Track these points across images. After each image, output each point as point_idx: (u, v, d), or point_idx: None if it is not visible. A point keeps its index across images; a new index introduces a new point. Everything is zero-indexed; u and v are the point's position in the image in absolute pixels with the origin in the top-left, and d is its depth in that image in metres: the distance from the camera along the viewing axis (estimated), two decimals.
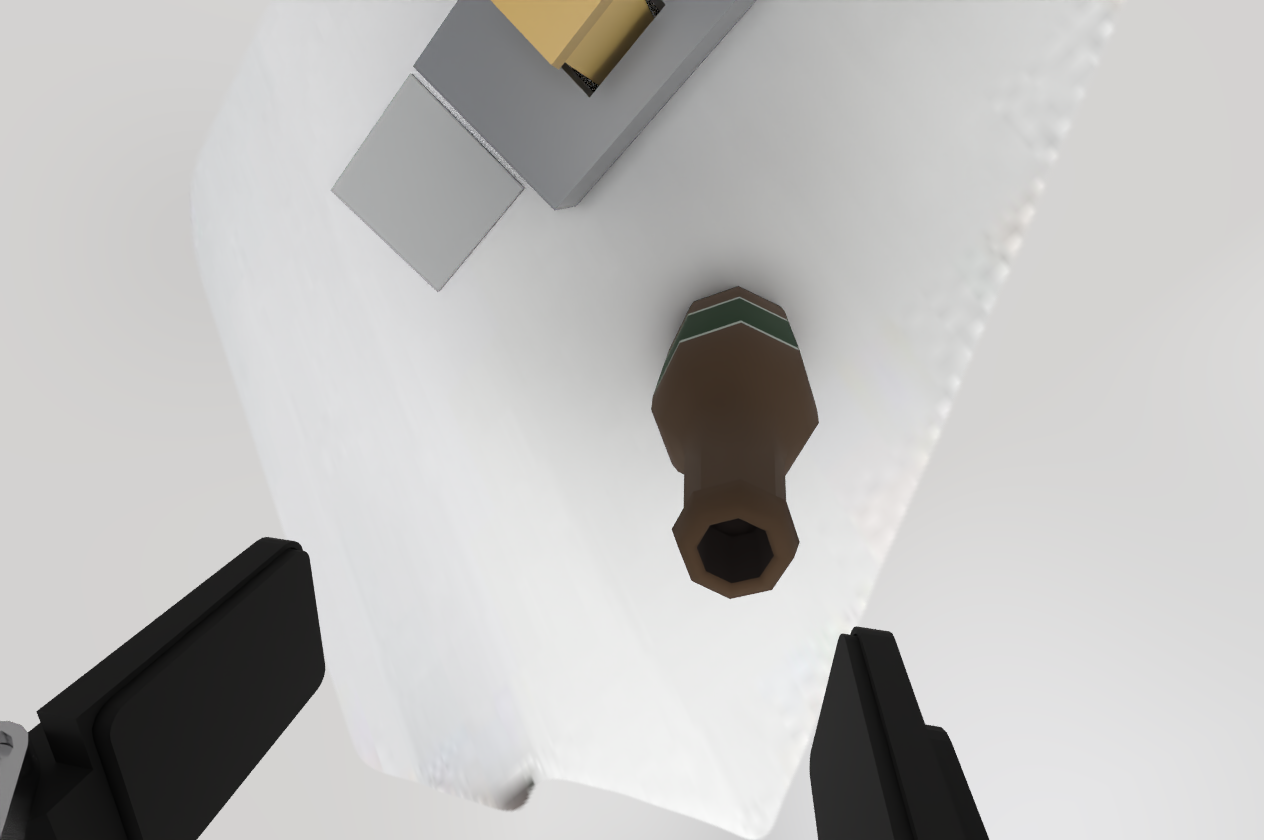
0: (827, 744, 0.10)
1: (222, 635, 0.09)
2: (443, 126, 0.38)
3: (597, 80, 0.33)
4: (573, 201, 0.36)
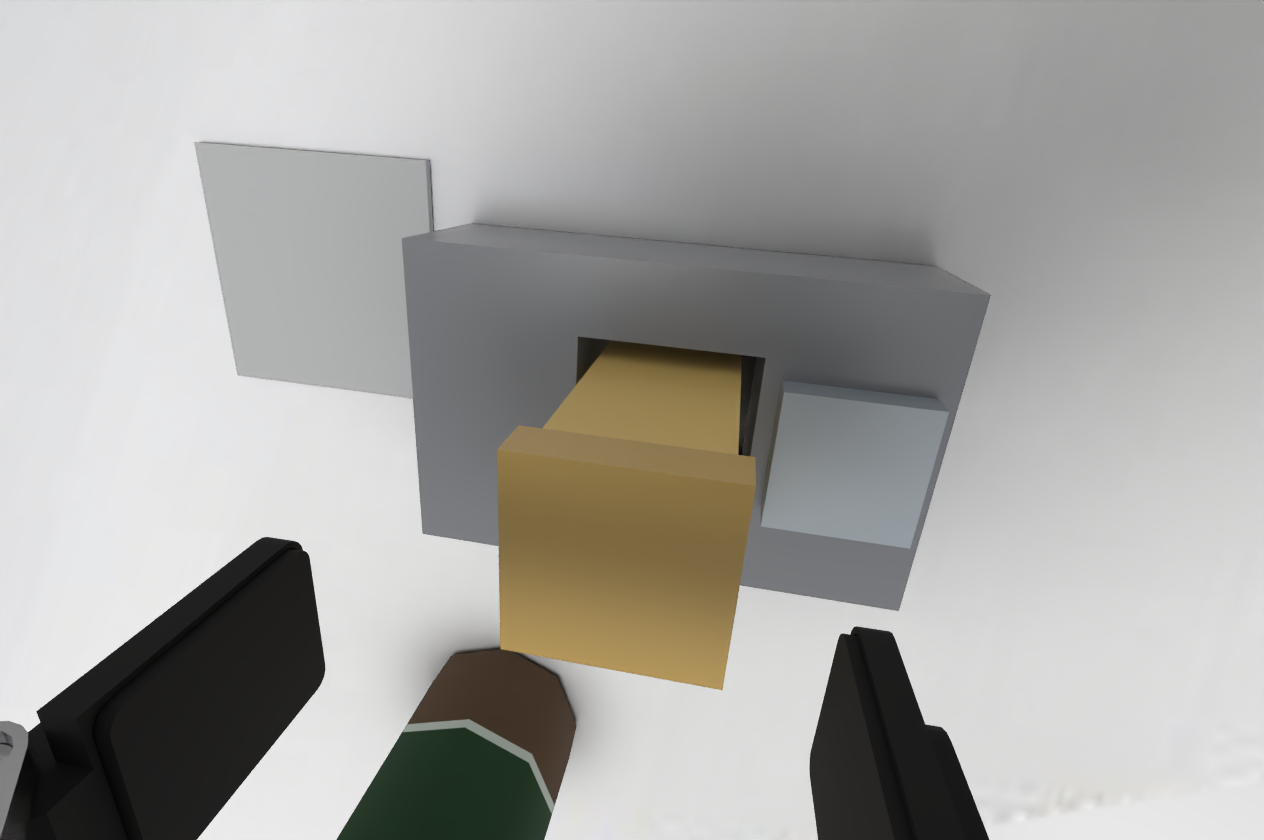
0: (827, 744, 0.10)
1: (222, 635, 0.09)
2: None
3: None
4: None
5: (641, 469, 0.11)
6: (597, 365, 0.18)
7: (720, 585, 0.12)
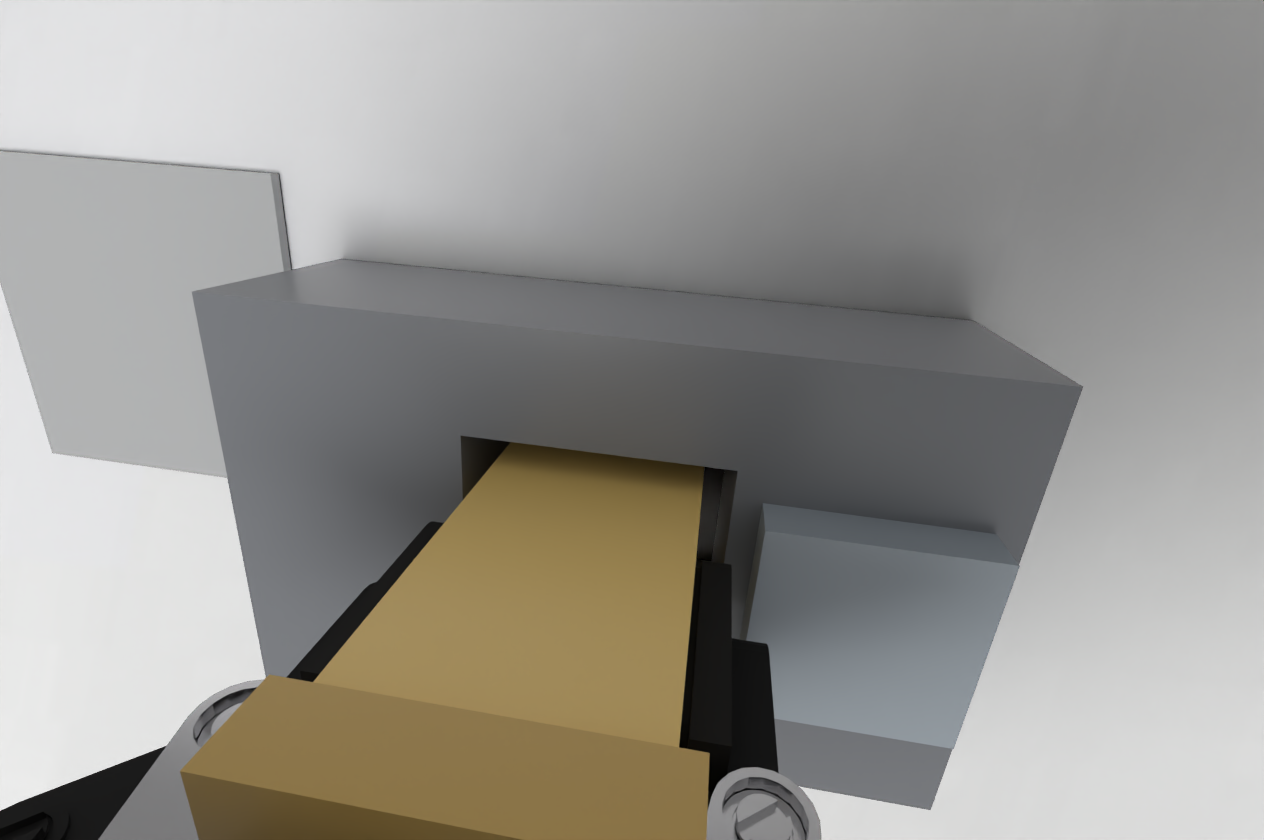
0: None
1: None
2: None
3: None
4: None
5: (466, 828, 0.05)
6: (486, 482, 0.12)
7: None
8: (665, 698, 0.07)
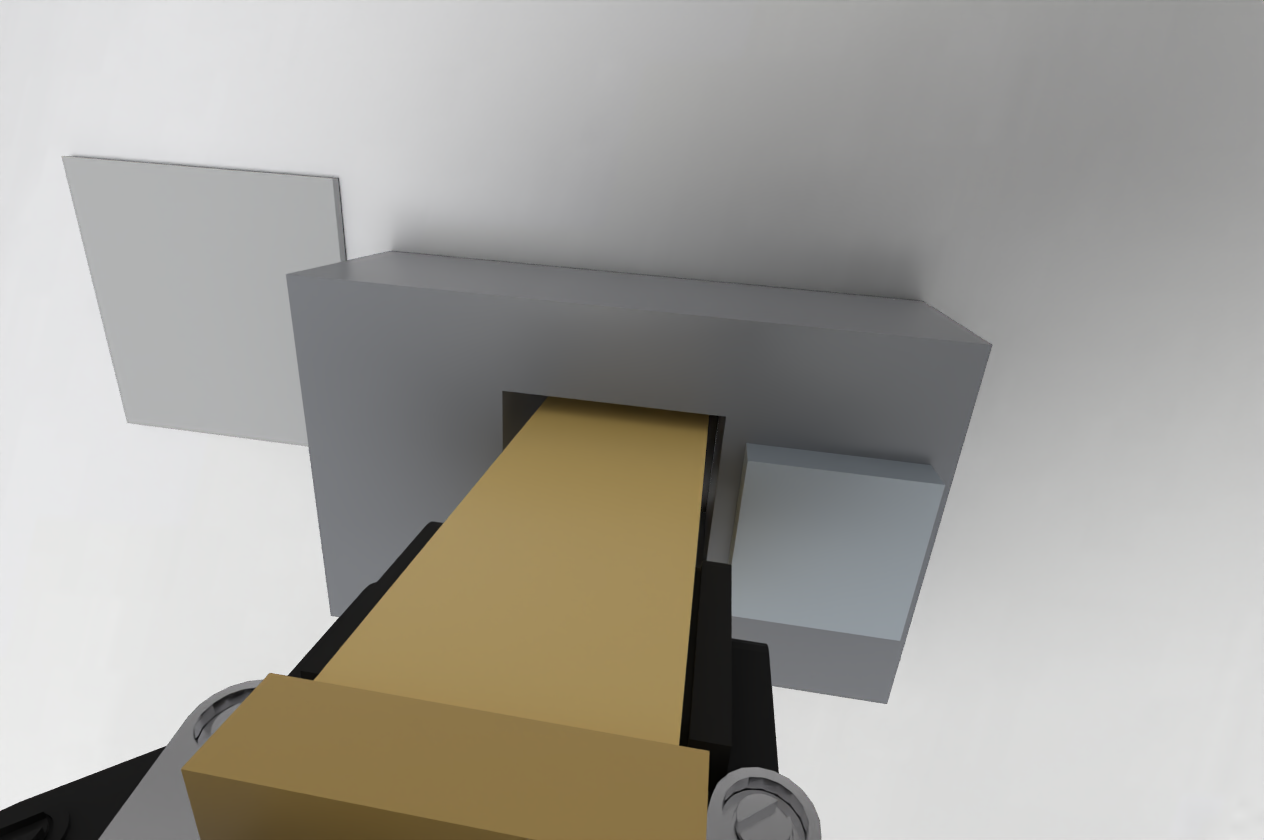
0: None
1: None
2: None
3: None
4: None
5: (467, 825, 0.05)
6: (486, 481, 0.12)
7: None
8: (665, 696, 0.07)
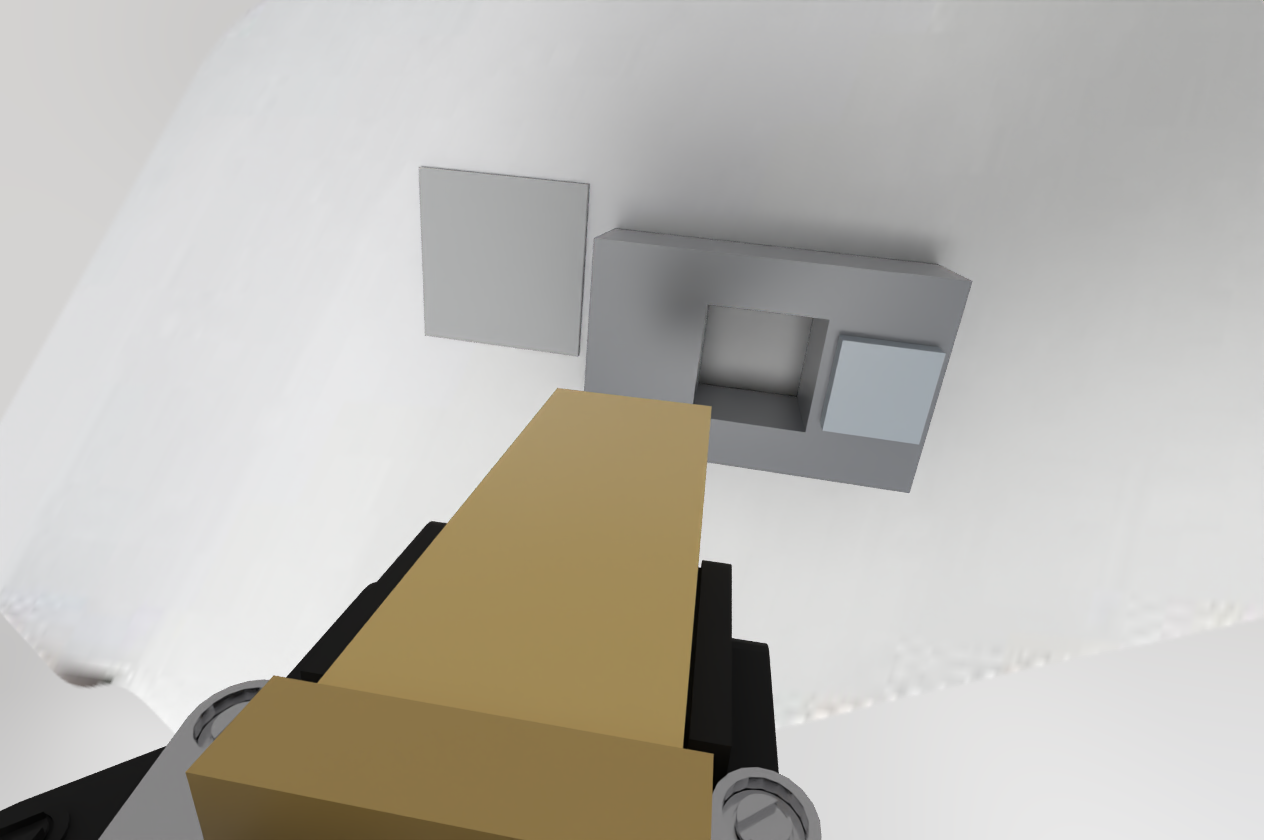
0: None
1: None
2: (569, 248, 0.33)
3: None
4: None
5: (471, 828, 0.05)
6: (488, 483, 0.12)
7: None
8: (669, 699, 0.07)
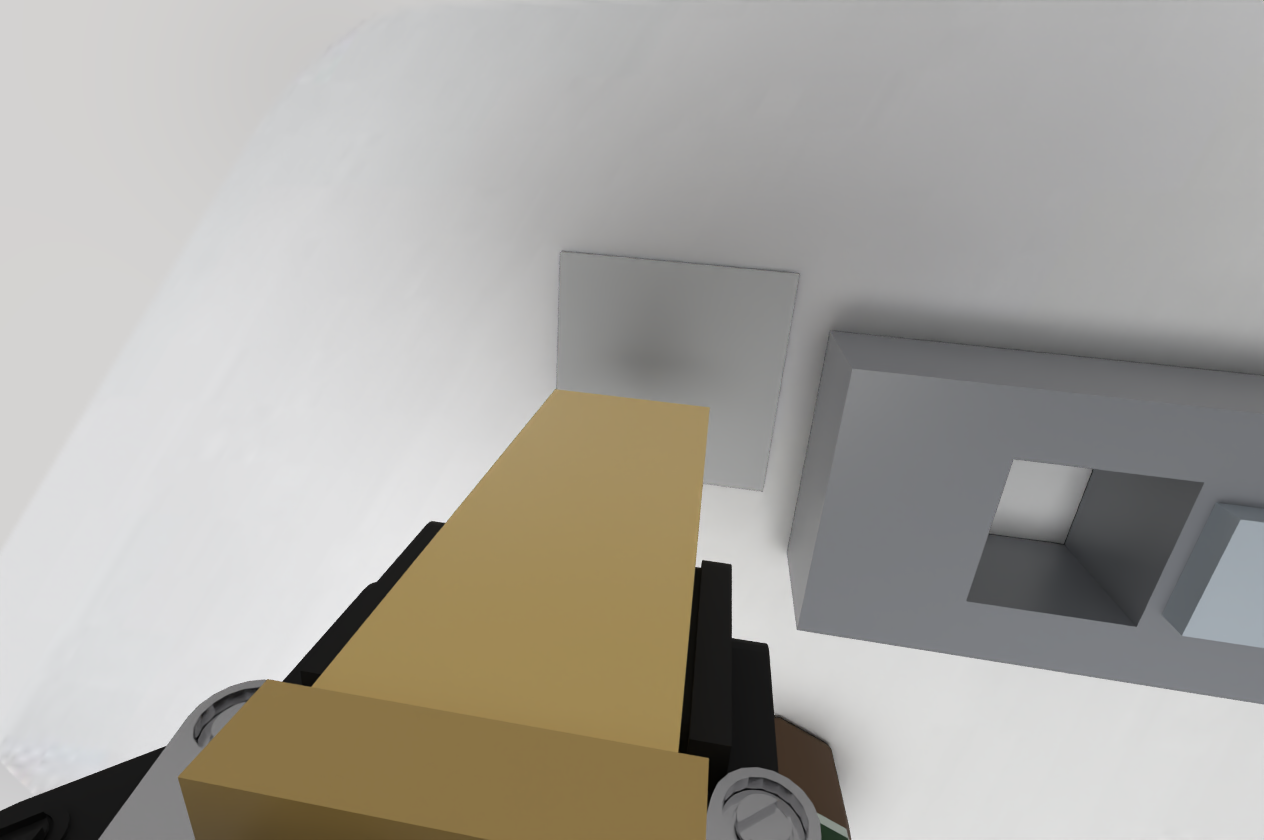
0: None
1: None
2: (764, 357, 0.24)
3: None
4: None
5: (465, 833, 0.05)
6: (485, 485, 0.12)
7: None
8: (664, 702, 0.07)
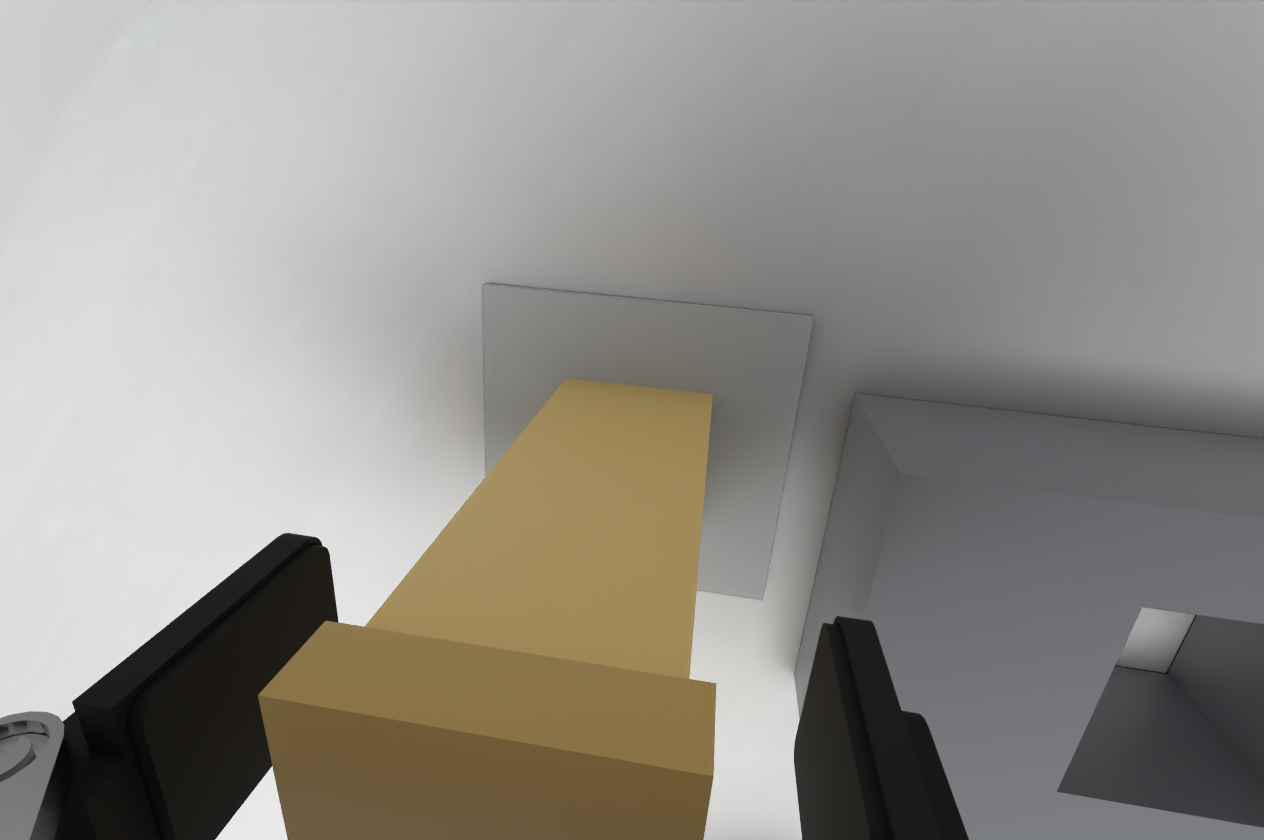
0: (810, 731, 0.10)
1: (247, 629, 0.09)
2: (765, 427, 0.18)
3: None
4: None
5: (507, 739, 0.06)
6: (505, 462, 0.13)
7: None
8: (675, 643, 0.08)
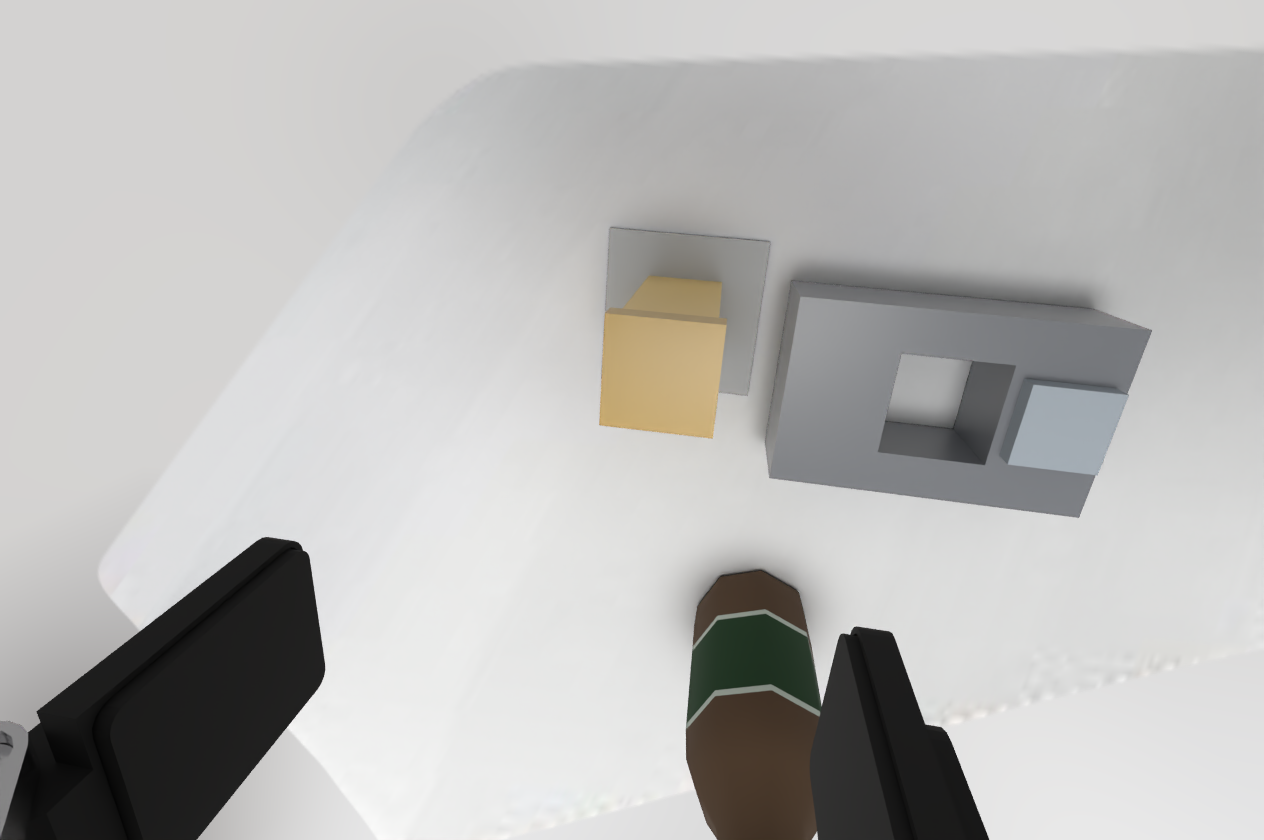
0: (827, 744, 0.10)
1: (222, 635, 0.09)
2: (747, 298, 0.36)
3: None
4: None
5: (673, 320, 0.24)
6: (638, 292, 0.31)
7: (711, 378, 0.25)
8: None
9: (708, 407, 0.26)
